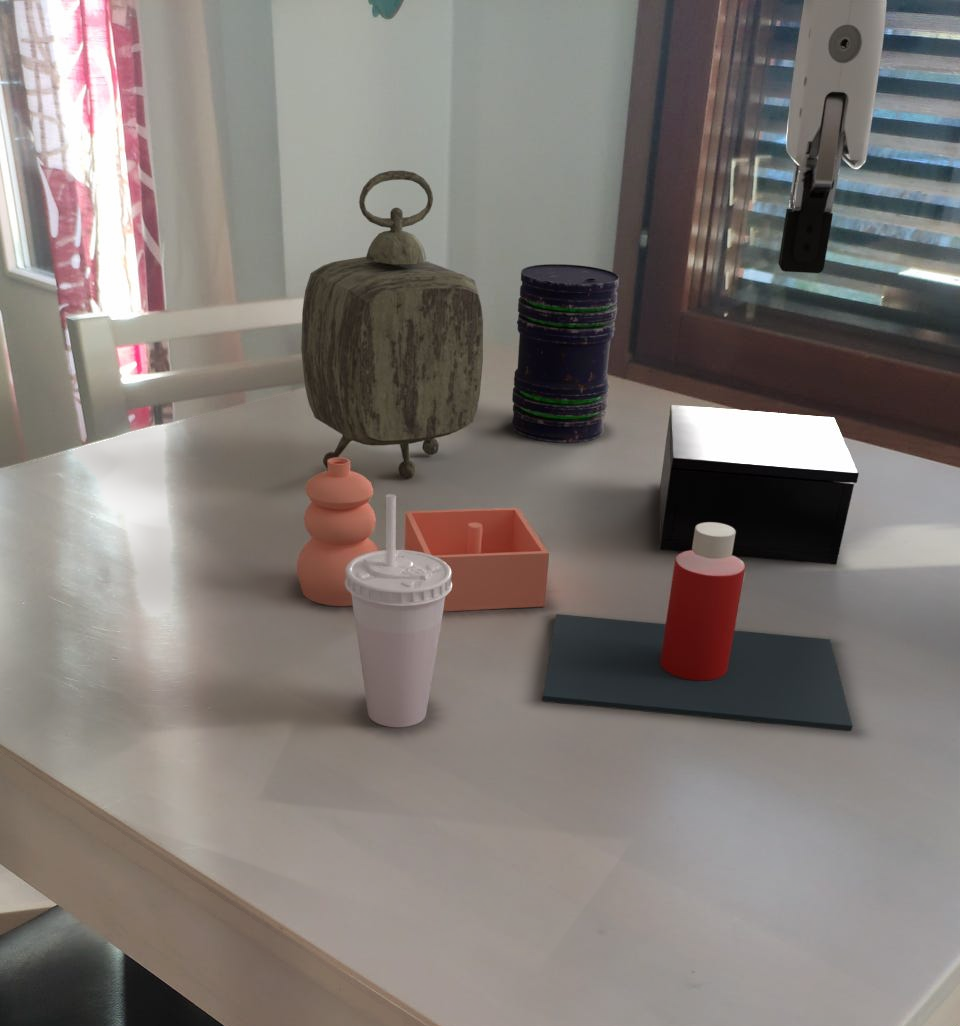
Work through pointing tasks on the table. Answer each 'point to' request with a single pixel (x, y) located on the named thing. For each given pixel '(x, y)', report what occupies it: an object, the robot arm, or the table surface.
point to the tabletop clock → (392, 341)
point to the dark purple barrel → (563, 351)
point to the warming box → (754, 512)
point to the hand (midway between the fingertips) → (800, 269)
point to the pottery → (421, 546)
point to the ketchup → (703, 605)
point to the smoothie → (397, 625)
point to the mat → (736, 695)
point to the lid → (759, 444)
